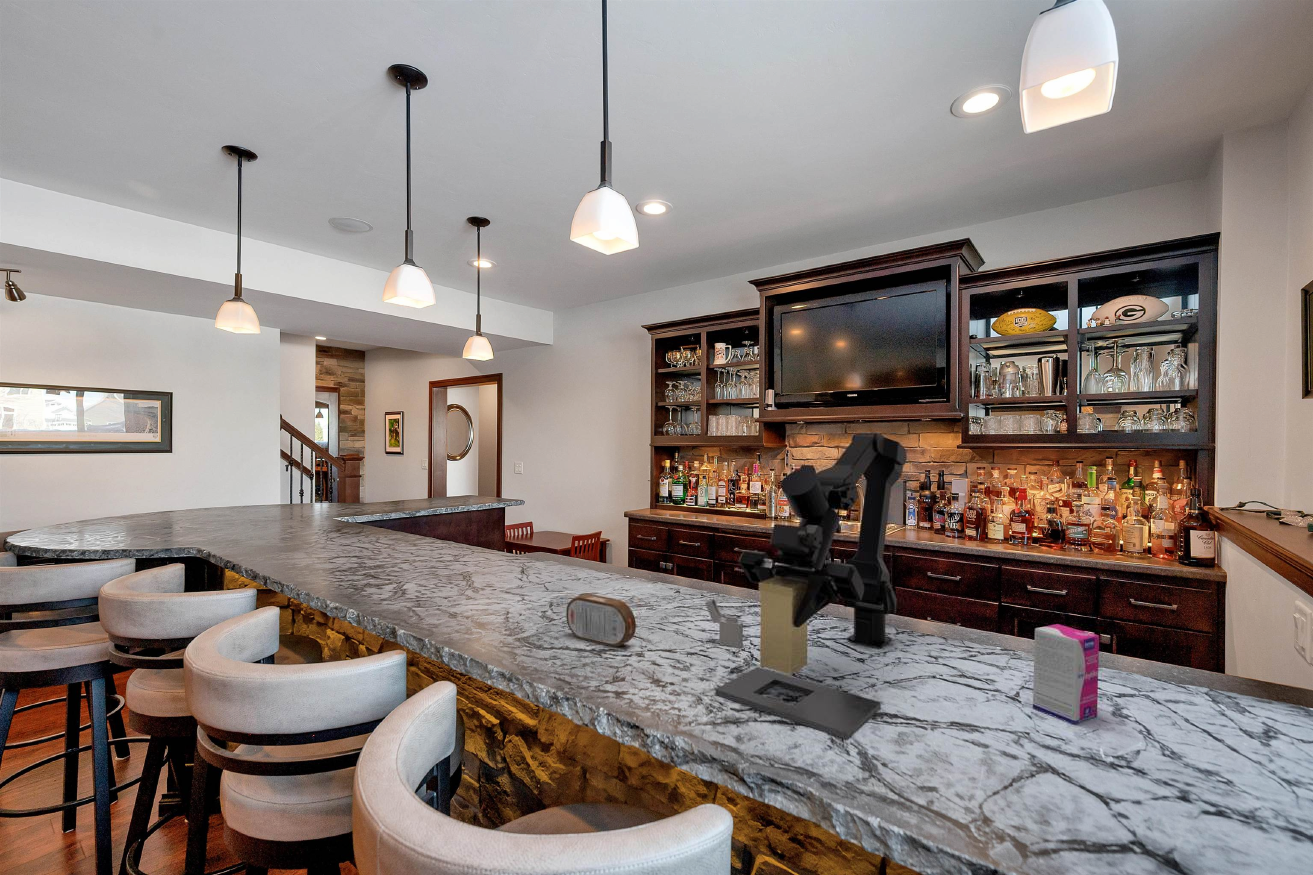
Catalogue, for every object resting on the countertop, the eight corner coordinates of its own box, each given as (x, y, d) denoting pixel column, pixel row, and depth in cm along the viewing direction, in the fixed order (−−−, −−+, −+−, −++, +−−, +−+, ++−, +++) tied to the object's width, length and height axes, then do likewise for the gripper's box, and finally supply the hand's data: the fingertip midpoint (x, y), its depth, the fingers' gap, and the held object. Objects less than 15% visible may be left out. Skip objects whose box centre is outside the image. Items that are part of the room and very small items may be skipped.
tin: (636, 647, 107) (637, 601, 107) (626, 652, 104) (627, 604, 104) (573, 632, 115) (574, 589, 115) (563, 636, 112) (563, 592, 112)
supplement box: (1077, 726, 78) (1077, 639, 78) (1031, 708, 83) (1031, 627, 83) (1100, 717, 80) (1100, 633, 81) (1054, 700, 86) (1054, 622, 86)
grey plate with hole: (757, 671, 95) (757, 666, 96) (880, 707, 83) (880, 702, 83) (715, 694, 86) (715, 689, 86) (846, 739, 73) (846, 732, 73)
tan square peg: (776, 655, 90) (776, 576, 90) (809, 664, 86) (809, 581, 86) (758, 665, 85) (758, 582, 86) (791, 675, 82) (792, 588, 82)
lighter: (743, 645, 108) (743, 602, 109) (739, 648, 107) (740, 604, 107) (708, 638, 112) (708, 597, 112) (704, 641, 110) (704, 599, 110)
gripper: (744, 500, 95) (704, 579, 87) (857, 509, 83) (823, 601, 75) (768, 543, 101) (733, 620, 93) (876, 556, 89) (847, 648, 80)
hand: (779, 622), depth 85 cm, fingers closed on tan square peg, 5 cm apart
